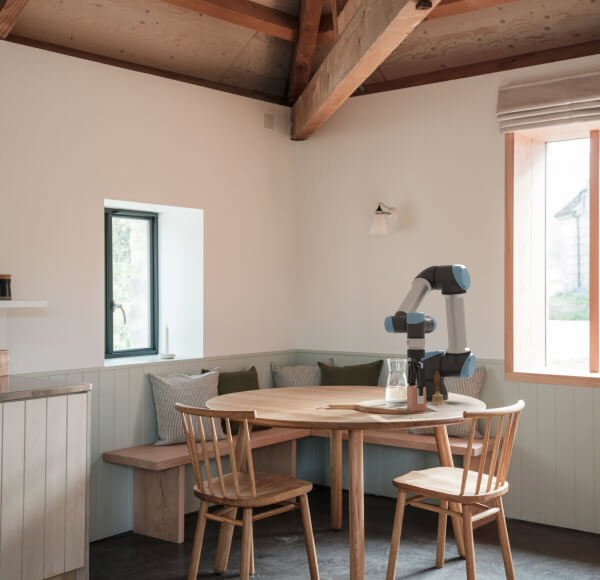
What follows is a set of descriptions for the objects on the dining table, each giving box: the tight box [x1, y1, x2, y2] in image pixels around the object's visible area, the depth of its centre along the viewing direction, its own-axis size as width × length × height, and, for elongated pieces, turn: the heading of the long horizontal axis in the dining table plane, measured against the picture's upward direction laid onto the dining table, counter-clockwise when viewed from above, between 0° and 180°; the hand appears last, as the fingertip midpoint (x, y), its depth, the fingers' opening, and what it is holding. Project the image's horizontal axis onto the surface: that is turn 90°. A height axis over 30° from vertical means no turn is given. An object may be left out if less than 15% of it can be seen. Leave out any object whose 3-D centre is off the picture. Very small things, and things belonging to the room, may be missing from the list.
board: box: [395, 406, 439, 414], centre depth 333 cm, size 14×14×2 cm
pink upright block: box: [406, 385, 427, 411], centre depth 334 cm, size 6×6×10 cm
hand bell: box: [430, 371, 446, 406], centre depth 353 cm, size 8×8×16 cm
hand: (416, 402), depth 334 cm, fingers open, 8 cm apart
